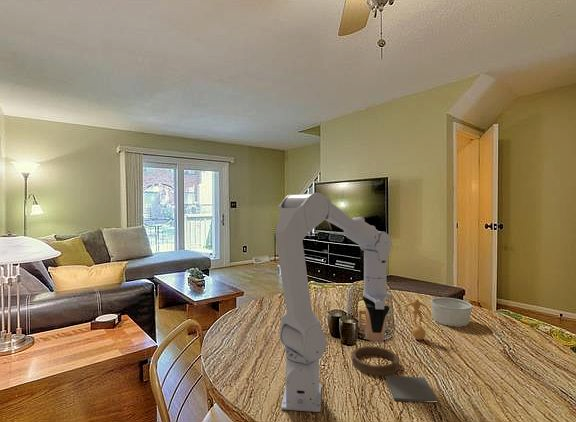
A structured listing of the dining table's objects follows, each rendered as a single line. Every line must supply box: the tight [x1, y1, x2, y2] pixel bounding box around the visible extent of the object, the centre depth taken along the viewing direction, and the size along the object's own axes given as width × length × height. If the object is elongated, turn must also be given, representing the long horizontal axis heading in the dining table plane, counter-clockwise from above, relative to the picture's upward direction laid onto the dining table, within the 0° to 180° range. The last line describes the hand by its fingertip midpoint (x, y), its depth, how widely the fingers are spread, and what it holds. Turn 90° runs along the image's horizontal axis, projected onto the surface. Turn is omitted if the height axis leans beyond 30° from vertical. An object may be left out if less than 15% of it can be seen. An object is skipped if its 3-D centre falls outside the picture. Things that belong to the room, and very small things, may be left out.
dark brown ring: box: [351, 345, 400, 377], centre depth 82 cm, size 12×12×2 cm
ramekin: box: [430, 296, 473, 328], centre depth 112 cm, size 13×13×7 cm
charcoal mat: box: [385, 374, 439, 403], centre depth 70 cm, size 9×9×1 cm
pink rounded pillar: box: [358, 305, 386, 342], centre depth 82 cm, size 7×5×8 cm
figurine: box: [403, 298, 432, 341], centre depth 98 cm, size 8×6×12 cm
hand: (375, 328), depth 82 cm, fingers closed on pink rounded pillar, 5 cm apart
